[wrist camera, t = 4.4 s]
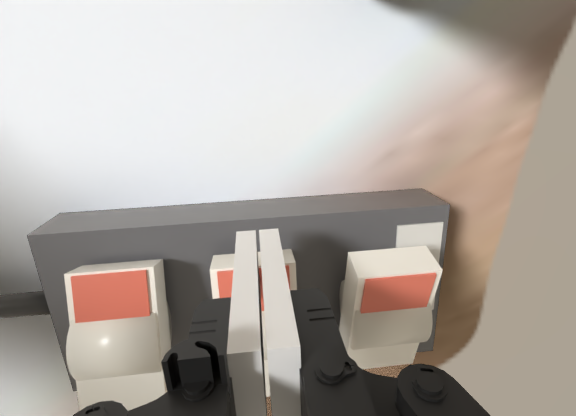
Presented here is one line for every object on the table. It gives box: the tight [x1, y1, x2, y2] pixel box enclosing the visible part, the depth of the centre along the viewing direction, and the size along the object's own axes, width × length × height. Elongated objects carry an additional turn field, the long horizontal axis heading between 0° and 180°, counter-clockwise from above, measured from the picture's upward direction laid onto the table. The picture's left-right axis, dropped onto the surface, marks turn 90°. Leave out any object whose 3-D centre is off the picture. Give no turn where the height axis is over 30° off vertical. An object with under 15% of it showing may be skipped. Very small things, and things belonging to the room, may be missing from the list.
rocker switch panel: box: [0, 189, 450, 391], centre depth 19 cm, size 27×9×3 cm, turn 92°
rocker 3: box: [339, 246, 443, 369], centre depth 17 cm, size 4×7×3 cm, turn 2°
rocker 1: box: [64, 259, 172, 411], centre depth 16 cm, size 4×7×3 cm, turn 2°
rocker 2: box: [210, 249, 297, 397], centre depth 17 cm, size 4×7×3 cm, turn 2°
